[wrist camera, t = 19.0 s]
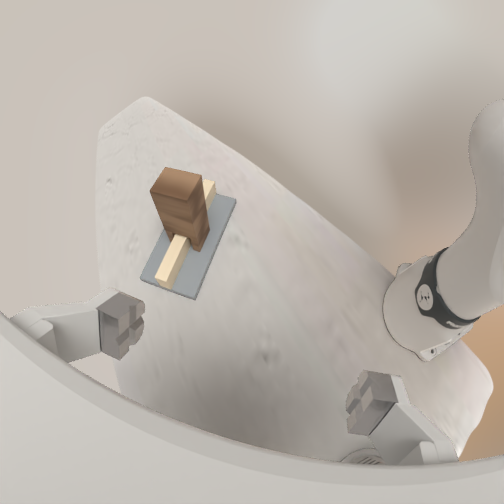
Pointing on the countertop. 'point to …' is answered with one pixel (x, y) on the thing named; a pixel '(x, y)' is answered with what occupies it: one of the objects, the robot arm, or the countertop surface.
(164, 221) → the walnut block
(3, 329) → the robot arm
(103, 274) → the countertop surface
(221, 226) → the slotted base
